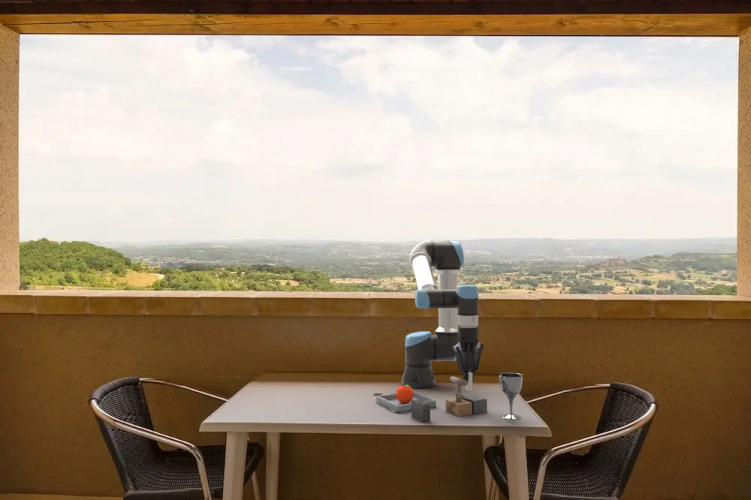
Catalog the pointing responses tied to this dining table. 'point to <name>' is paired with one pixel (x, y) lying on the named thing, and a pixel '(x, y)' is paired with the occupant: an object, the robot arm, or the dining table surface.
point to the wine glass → (511, 390)
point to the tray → (397, 406)
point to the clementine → (404, 394)
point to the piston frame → (479, 404)
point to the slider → (458, 400)
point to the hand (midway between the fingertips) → (468, 389)
